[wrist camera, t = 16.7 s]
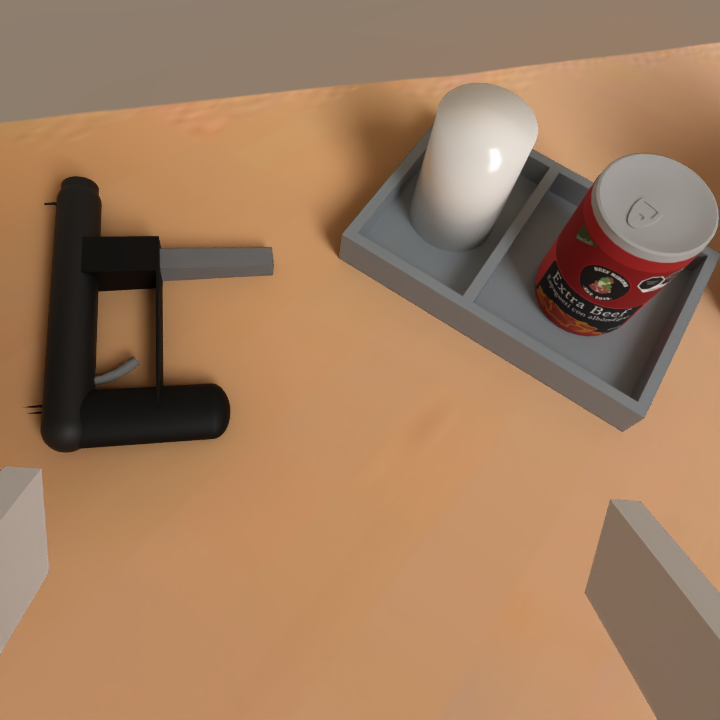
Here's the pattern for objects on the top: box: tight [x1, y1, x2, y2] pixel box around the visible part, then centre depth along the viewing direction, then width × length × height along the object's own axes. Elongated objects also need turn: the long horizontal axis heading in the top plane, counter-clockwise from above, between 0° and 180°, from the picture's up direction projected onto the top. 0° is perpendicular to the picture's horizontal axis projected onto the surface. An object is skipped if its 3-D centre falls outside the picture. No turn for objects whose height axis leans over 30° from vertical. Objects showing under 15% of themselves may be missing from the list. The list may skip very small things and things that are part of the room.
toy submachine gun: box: [27, 176, 274, 452], centre depth 44 cm, size 3×20×16 cm
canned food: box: [535, 153, 719, 336], centre depth 43 cm, size 8×8×11 cm
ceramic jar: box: [410, 83, 538, 252], centre depth 46 cm, size 7×7×10 cm
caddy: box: [339, 124, 720, 432], centre depth 49 cm, size 24×16×3 cm, turn 57°
